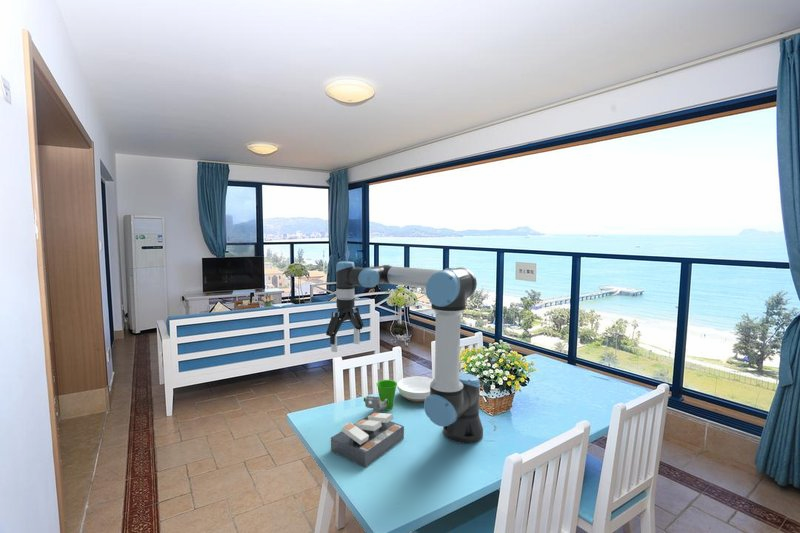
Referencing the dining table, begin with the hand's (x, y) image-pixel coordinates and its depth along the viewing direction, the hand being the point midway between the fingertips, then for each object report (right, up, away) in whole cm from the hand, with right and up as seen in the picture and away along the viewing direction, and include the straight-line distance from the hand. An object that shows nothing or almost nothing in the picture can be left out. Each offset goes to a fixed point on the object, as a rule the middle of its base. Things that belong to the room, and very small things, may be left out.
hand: (345, 347), depth 166 cm
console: (+12, -31, -24) cm, 40 cm away
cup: (+17, -28, +6) cm, 33 cm away
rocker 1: (+7, -24, -30) cm, 39 cm away
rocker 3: (+16, -23, -19) cm, 33 cm away
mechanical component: (+13, -29, -7) cm, 33 cm away
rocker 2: (+12, -23, -24) cm, 36 cm away
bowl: (+32, -27, +17) cm, 45 cm away
